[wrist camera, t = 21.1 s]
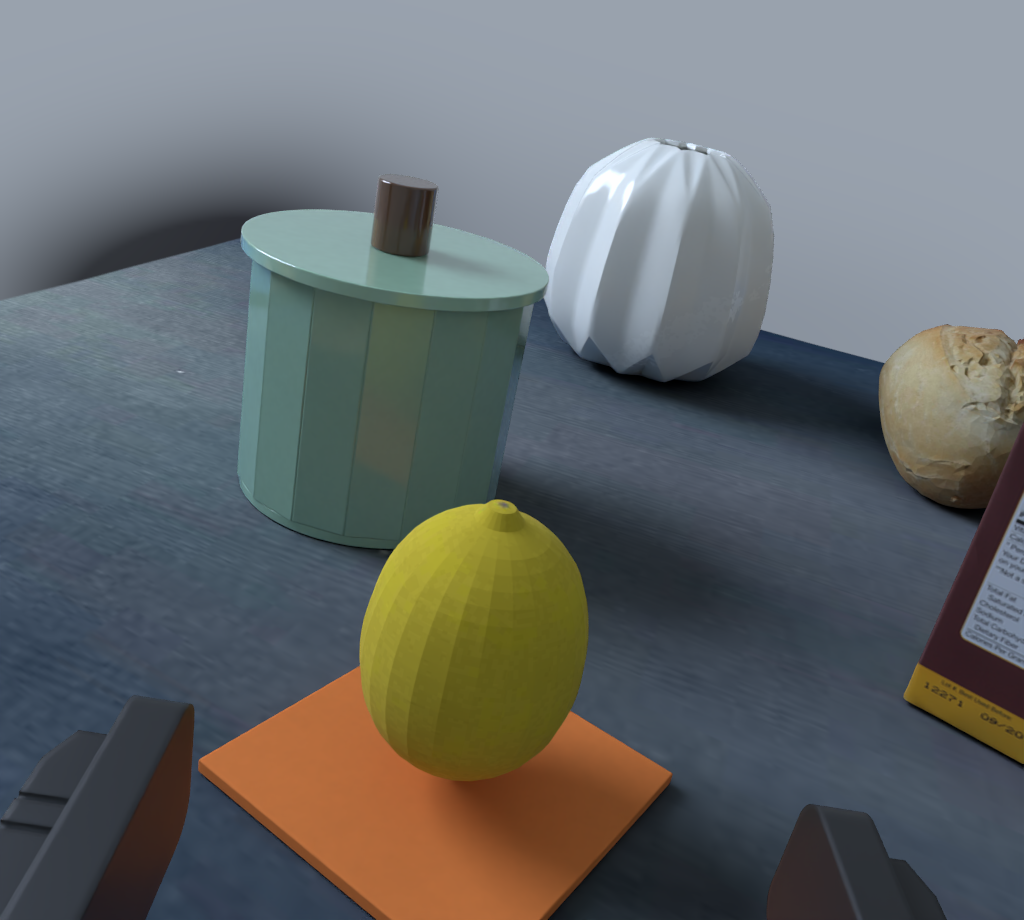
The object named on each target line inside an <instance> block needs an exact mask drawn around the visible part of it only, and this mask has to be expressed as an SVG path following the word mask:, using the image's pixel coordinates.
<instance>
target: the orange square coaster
mask: <svg viewBox="0 0 1024 920" xmlns="http://www.w3.org/2000/svg"><path fill="white" fill-rule="evenodd" d="M198 770H199V772H200V773H201V774H203V775H204V776H205V777H206V778H207V779H209V780H210V781H211V782H212V783H213V784H215V785H216V786H217V787H218V788H219V789H221V790H222V791H223V792H224V793H225V794H227V795H228V796H229V797H230V798H231V799H233V800H234V801H235V802H236V803H237V804H239V805H240V806H241V807H242V808H243V809H245V810H246V811H247V812H248V813H249V814H251V815H252V816H253V817H254V818H255V819H256V820H258V821H259V822H260V823H261V824H262V825H264V826H265V827H266V828H267V829H268V830H270V831H271V832H272V833H273V834H274V835H276V836H277V837H278V838H279V839H280V840H282V841H283V842H284V843H285V844H286V845H288V846H289V847H290V848H291V849H292V850H294V851H295V852H296V853H297V854H298V855H300V856H301V857H302V858H303V859H304V860H306V861H307V862H308V863H309V864H310V865H312V866H313V867H314V868H315V869H316V870H318V871H319V872H320V873H321V874H322V875H323V876H325V877H326V878H327V879H328V880H329V881H331V882H332V883H333V884H334V885H335V886H337V887H338V888H339V889H340V890H341V891H343V892H344V893H345V894H346V895H347V896H349V897H350V898H351V899H352V900H353V901H355V902H356V903H357V904H358V905H359V906H361V907H362V908H363V909H364V910H365V911H367V912H368V913H369V914H370V915H371V916H373V917H374V918H375V919H376V920H548V919H549V917H550V916H551V915H552V914H553V913H554V912H555V911H556V910H557V909H558V907H559V906H560V905H561V904H562V903H563V902H564V901H565V900H566V898H567V897H568V896H569V895H570V894H571V893H572V892H573V891H574V890H575V888H576V887H577V886H578V885H579V884H580V883H581V882H582V881H583V880H584V878H585V877H586V876H587V875H588V874H589V873H590V872H591V871H592V870H593V868H594V867H595V866H596V865H597V864H598V863H599V862H600V861H601V859H602V858H603V857H604V856H605V855H606V854H607V853H608V852H609V851H610V849H611V848H612V847H613V846H614V845H615V844H616V843H617V842H618V841H619V839H620V838H621V837H622V836H623V835H624V834H625V833H626V832H627V831H628V829H629V828H630V827H631V826H632V825H633V824H634V823H635V822H636V820H637V819H638V818H639V817H640V816H641V815H642V814H643V813H644V812H645V810H646V809H647V808H648V807H649V806H650V805H651V804H652V803H653V802H654V800H655V799H656V798H657V797H658V796H659V795H660V794H661V793H662V792H663V790H664V789H665V788H666V787H667V786H668V785H669V784H670V781H671V778H672V773H671V772H669V771H668V770H666V769H664V768H663V767H661V766H659V765H658V764H656V763H654V762H653V761H651V760H650V759H648V758H646V757H645V756H643V755H641V754H640V753H638V752H637V751H635V750H633V749H632V748H630V747H628V746H627V745H625V744H624V743H622V742H620V741H619V740H617V739H615V738H614V737H612V736H610V735H609V734H607V733H606V732H604V731H602V730H601V729H599V728H597V727H596V726H594V725H593V724H591V723H589V722H588V721H586V720H584V719H583V718H581V717H580V716H578V715H576V714H575V713H573V712H571V711H570V712H569V714H568V716H567V718H566V719H565V721H564V722H563V723H562V725H561V726H560V728H559V729H558V731H557V732H556V734H555V735H554V737H553V738H552V740H551V741H550V743H549V744H548V745H547V746H546V747H545V748H544V749H543V750H542V751H541V752H540V753H538V754H537V755H536V756H534V757H533V758H532V759H530V760H529V761H527V762H526V763H525V764H523V765H522V766H521V767H519V768H517V769H515V770H513V771H511V772H508V773H505V774H503V775H500V776H498V777H495V778H489V779H483V780H476V781H454V780H449V779H444V778H440V777H436V776H433V775H431V774H429V773H426V772H424V771H422V770H420V769H418V768H416V767H414V766H413V765H411V764H410V763H409V762H407V761H406V760H404V759H403V758H402V757H400V756H399V755H398V754H397V753H396V752H395V751H394V750H393V749H392V747H391V746H390V745H389V744H388V743H387V742H386V741H385V739H384V738H383V737H382V736H381V735H380V733H379V731H378V729H377V728H376V726H375V724H374V722H373V719H372V717H371V715H370V713H369V711H368V708H367V705H366V703H365V700H364V695H363V690H362V682H361V669H360V666H359V667H357V668H356V669H354V670H352V671H350V672H349V673H347V674H345V675H344V676H342V677H340V678H338V679H337V680H335V681H333V682H332V683H330V684H328V685H326V686H325V687H323V688H321V689H319V690H318V691H316V692H314V693H313V694H311V695H309V696H307V697H306V698H304V699H302V700H301V701H299V702H297V703H295V704H294V705H292V706H290V707H289V708H287V709H285V710H283V711H282V712H280V713H278V714H277V715H275V716H273V717H271V718H270V719H268V720H266V721H265V722H263V723H261V724H259V725H258V726H256V727H254V728H253V729H251V730H249V731H247V732H246V733H244V734H242V735H241V736H239V737H237V738H235V739H234V740H232V741H230V742H228V743H227V744H225V745H223V746H222V747H220V748H218V749H216V750H215V751H213V752H211V753H210V754H208V755H206V756H204V757H203V758H201V759H200V760H199V768H198Z"/></svg>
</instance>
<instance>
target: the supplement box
mask: <svg viewBox="0 0 1024 920" xmlns="http://www.w3.org/2000/svg"><path fill="white" fill-rule="evenodd" d="M904 699H905V700H906V701H908V702H910V703H912V704H913V705H915V706H917V707H919V708H921V709H923V710H925V711H927V712H929V713H931V714H932V715H934V716H936V717H938V718H940V719H942V720H944V721H945V722H947V723H949V724H951V725H953V726H955V727H956V728H958V729H960V730H962V731H964V732H965V733H967V734H969V735H971V736H973V737H975V738H976V739H978V740H980V741H982V742H984V743H985V744H987V745H989V746H991V747H993V748H994V749H996V750H998V751H1000V752H1002V753H1004V754H1005V755H1007V756H1009V757H1011V758H1013V759H1015V760H1016V761H1018V762H1020V763H1022V764H1024V422H1023V424H1022V426H1021V429H1020V431H1019V433H1018V436H1017V438H1016V440H1015V443H1014V445H1013V447H1012V450H1011V452H1010V454H1009V457H1008V459H1007V461H1006V464H1005V466H1004V468H1003V471H1002V473H1001V475H1000V478H999V480H998V482H997V485H996V487H995V489H994V492H993V494H992V496H991V499H990V501H989V503H988V506H987V508H986V510H985V512H984V515H983V517H982V519H981V522H980V524H979V526H978V529H977V531H976V533H975V536H974V538H973V540H972V543H971V545H970V547H969V549H968V552H967V554H966V556H965V558H964V561H963V563H962V565H961V568H960V570H959V572H958V574H957V577H956V579H955V581H954V583H953V585H952V588H951V590H950V592H949V594H948V596H947V599H946V601H945V603H944V605H943V608H942V610H941V612H940V614H939V617H938V619H937V621H936V624H935V626H934V628H933V630H932V633H931V635H930V637H929V639H928V642H927V644H926V646H925V649H924V651H923V653H922V655H921V657H920V660H919V662H918V664H917V666H916V668H915V670H914V673H913V675H912V678H911V680H910V683H909V685H908V687H907V689H906V691H905V693H904Z"/></svg>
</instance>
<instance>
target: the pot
mask: <svg viewBox="0 0 1024 920" xmlns="http://www.w3.org/2000/svg"><path fill="white" fill-rule="evenodd" d="M532 309H533V304H532V305H529V306H525V307H521V308H517V309H511V310H504V311H491V312H449V311H435V310H424V309H415V308H406V307H400V306H393V305H386V304H381V303H375V302H370V301H365V300H360V299H355V298H351V297H347V296H342V295H338V294H335V293H331V292H327V291H324V290H320V289H317V288H314V287H310V286H307V285H304V284H301V283H298V282H296V281H293V280H291V279H288V278H286V277H283V276H281V275H279V274H276V273H274V272H272V271H270V270H268V269H266V268H265V267H263V266H261V265H259V264H258V263H256V262H255V261H254V260H252V269H251V283H250V297H249V311H248V325H247V339H246V354H245V368H244V382H243V396H242V410H241V424H240V438H239V453H238V467H237V474H238V475H239V476H238V479H239V483H240V487H241V489H242V491H243V493H244V495H245V496H246V498H247V499H248V500H249V501H250V503H251V504H252V505H253V506H255V507H256V508H257V509H258V510H259V511H260V512H262V513H263V514H264V515H266V516H267V517H269V518H270V519H272V520H274V521H276V522H277V523H279V524H281V525H283V526H285V527H287V528H290V529H292V530H294V531H297V532H299V533H302V534H305V535H308V536H311V537H314V538H317V539H321V540H325V541H329V542H333V543H338V544H343V545H349V546H356V547H365V548H378V549H395V548H396V547H397V546H398V544H399V543H400V542H401V541H402V540H403V539H404V538H405V537H406V536H407V535H408V534H409V533H410V532H411V531H412V530H413V529H414V528H415V527H417V526H418V525H420V524H421V523H423V522H424V521H426V520H428V519H429V518H431V517H433V516H435V515H437V514H439V513H441V512H444V511H446V510H449V509H453V508H457V507H461V506H465V505H472V504H486V503H488V502H490V501H491V500H494V498H495V496H496V491H497V486H498V481H499V475H500V470H501V465H502V460H503V455H504V450H505V445H506V440H507V435H508V430H509V425H510V420H511V415H512V410H513V405H514V400H515V395H516V390H517V385H518V380H519V375H520V370H521V365H522V360H523V355H524V350H525V345H526V340H527V334H528V329H529V324H530V319H531V314H532Z"/></svg>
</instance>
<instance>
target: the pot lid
mask: <svg viewBox="0 0 1024 920" xmlns="http://www.w3.org/2000/svg"><path fill="white" fill-rule="evenodd" d="M438 190H439V188H438V186H437V185H436V184H434V183H432V182H429V181H427V180H423V179H419V178H415V177H410V176H403V175H391V174H387V175H381V176H379V178H378V184H377V193H376V202H375V210H374V213H365V212H354V211H343V210H312V209H309V210H288V211H280V212H272V213H268V214H263V215H259V216H257V217H254V218H252V219H250V220H248V221H247V222H245V224H244V225H243V226H242V230H241V243H240V244H241V246H242V249H243V251H244V252H245V253H246V254H247V255H248V257H250V258H251V259H252V260H254V261H255V262H256V263H258V264H259V265H261V266H263V267H265V268H266V269H268V270H270V271H272V272H274V273H276V274H279V275H281V276H283V277H286V278H288V279H291V280H293V281H296V282H298V283H301V284H304V285H307V286H310V287H314V288H317V289H320V290H324V291H327V292H331V293H335V294H338V295H342V296H347V297H351V298H355V299H360V300H365V301H370V302H375V303H381V304H386V305H393V306H400V307H406V308H415V309H424V310H435V311H449V312H491V311H504V310H511V309H517V308H521V307H525V306H529V305H532V304H534V303H536V302H538V301H540V300H541V299H542V298H544V296H545V294H546V293H547V290H548V285H549V275H548V273H547V271H546V269H545V268H544V267H543V266H542V265H541V264H539V263H538V262H537V261H536V260H534V259H532V258H531V257H529V256H527V255H526V254H524V253H522V252H520V251H518V250H516V249H514V248H511V247H509V246H507V245H504V244H502V243H499V242H496V241H494V240H491V239H488V238H485V237H482V236H479V235H476V234H472V233H469V232H465V231H462V230H458V229H454V228H450V227H446V226H442V225H437V224H434V217H435V209H436V204H437V196H438Z"/></svg>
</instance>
